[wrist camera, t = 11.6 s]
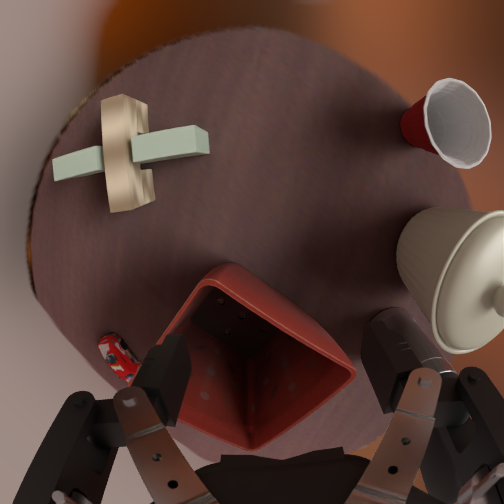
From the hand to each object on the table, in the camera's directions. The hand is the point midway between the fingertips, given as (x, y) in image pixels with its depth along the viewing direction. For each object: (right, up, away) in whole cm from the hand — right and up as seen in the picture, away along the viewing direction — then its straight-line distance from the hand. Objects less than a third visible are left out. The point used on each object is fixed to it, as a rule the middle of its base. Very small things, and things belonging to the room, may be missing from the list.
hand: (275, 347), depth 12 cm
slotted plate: (-17, +18, +24) cm, 35 cm away
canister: (+27, +5, +27) cm, 39 cm away
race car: (-25, -16, +36) cm, 47 cm away
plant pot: (-2, -5, +32) cm, 32 cm away
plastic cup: (+23, +22, +22) cm, 39 cm away
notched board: (-17, +18, +24) cm, 34 cm away
